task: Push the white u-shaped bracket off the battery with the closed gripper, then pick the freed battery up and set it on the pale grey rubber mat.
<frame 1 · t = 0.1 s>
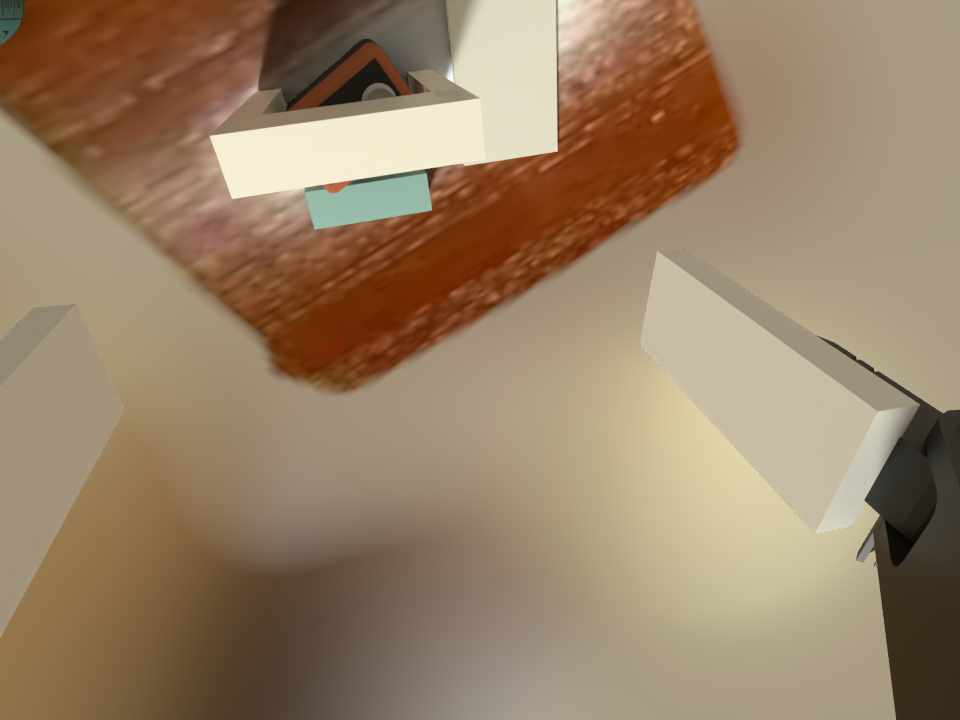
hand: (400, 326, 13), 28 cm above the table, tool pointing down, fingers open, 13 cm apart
battery: (349, 100, 35), on the table
mat: (504, 80, 36), on the table
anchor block: (368, 189, 38), on the table
white u-shaped bracket: (352, 120, 28), point 8 cm above the table, slide at 0.0 cm
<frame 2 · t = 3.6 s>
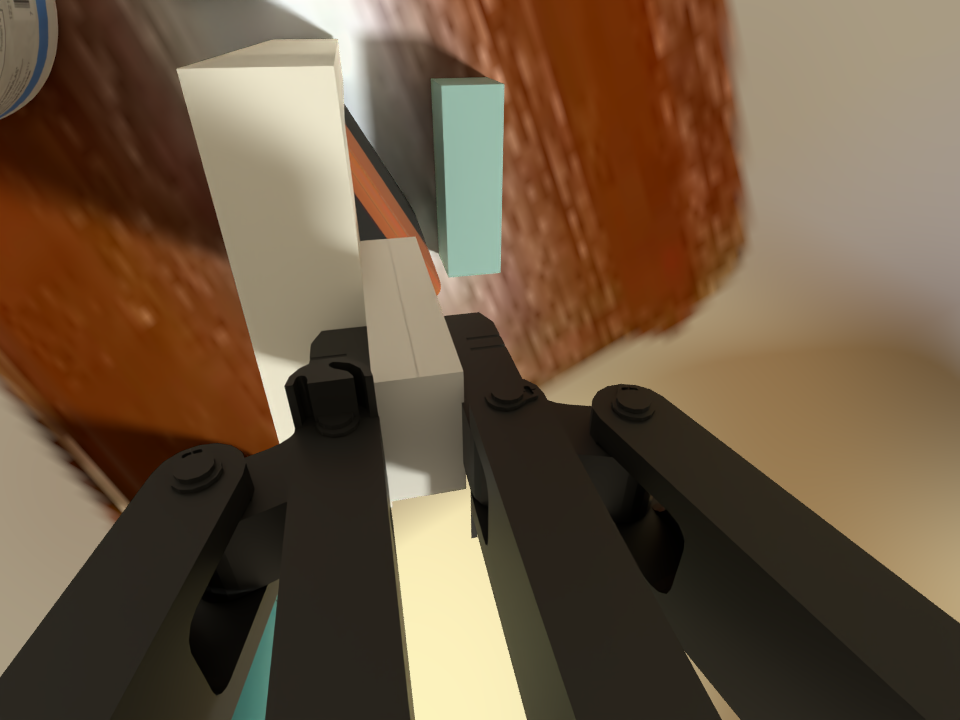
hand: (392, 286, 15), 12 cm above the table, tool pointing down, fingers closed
battery: (337, 178, 24), on the table
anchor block: (461, 172, 25), on the table
white u-shaped bracket: (323, 235, 18), point 8 cm above the table, slide at 0.5 cm, touching gripper
beverage bottle: (248, 484, 33), on the table
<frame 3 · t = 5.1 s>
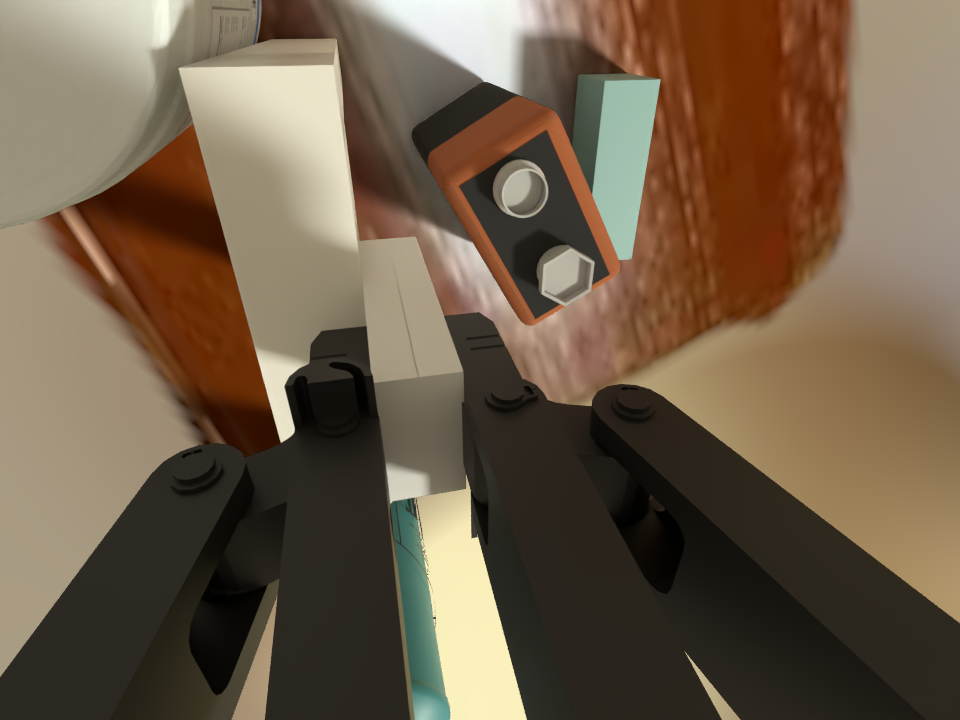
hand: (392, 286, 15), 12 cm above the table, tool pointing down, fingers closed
battery: (481, 169, 26), on the table
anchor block: (593, 163, 27), on the table
white u-shaped bracket: (322, 234, 18), point 8 cm above the table, slide at 7.3 cm, touching gripper
beverage bottle: (360, 465, 34), on the table
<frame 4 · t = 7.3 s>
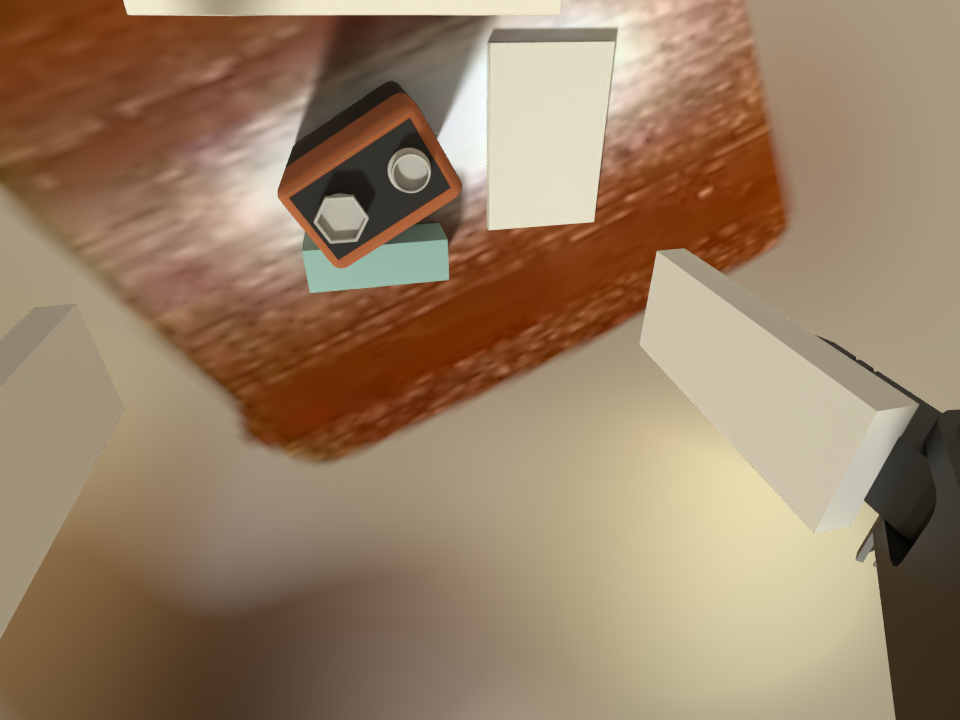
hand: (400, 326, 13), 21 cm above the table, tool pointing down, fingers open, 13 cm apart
battery: (364, 147, 30), on the table
mat: (544, 140, 31), on the table
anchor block: (375, 247, 33), on the table
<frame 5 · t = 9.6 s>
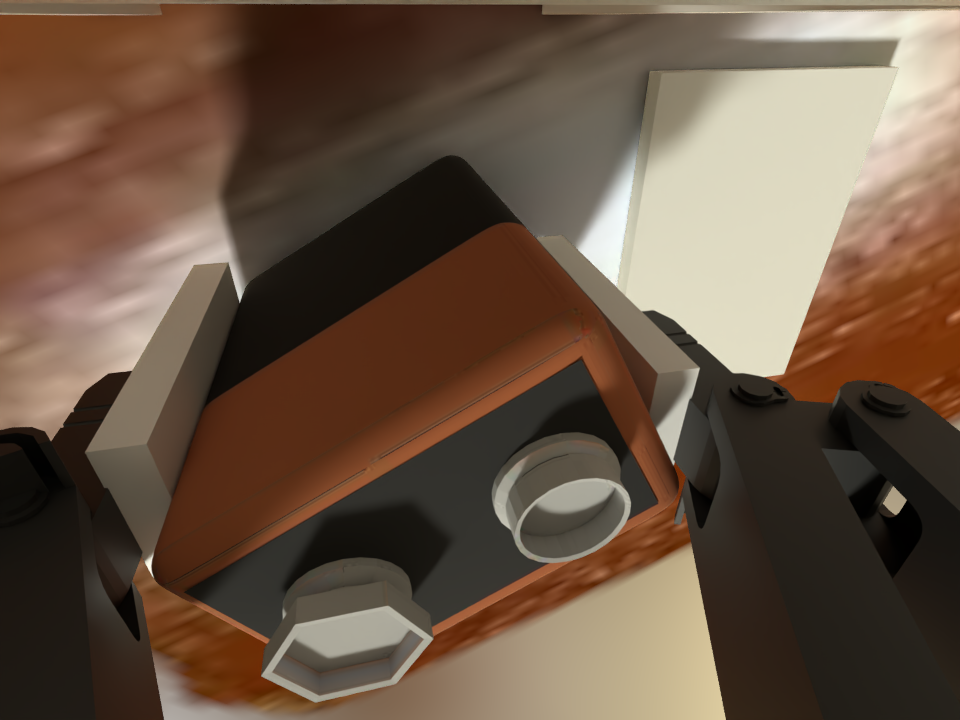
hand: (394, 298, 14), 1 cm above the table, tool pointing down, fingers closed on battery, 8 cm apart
battery: (390, 276, 15), on the table, touching gripper
mat: (723, 247, 17), on the table
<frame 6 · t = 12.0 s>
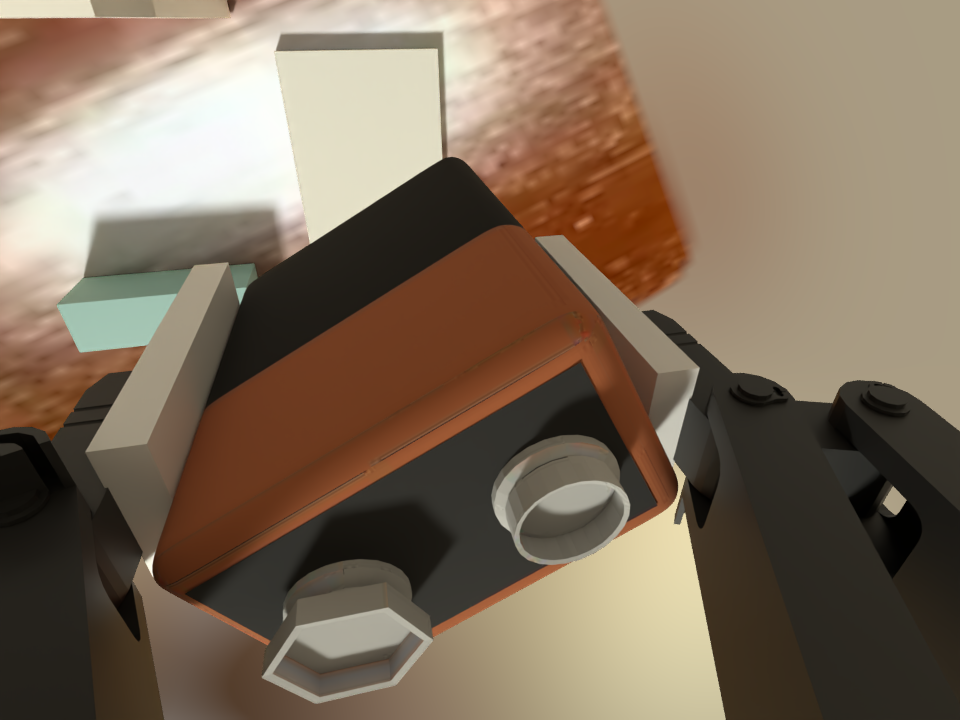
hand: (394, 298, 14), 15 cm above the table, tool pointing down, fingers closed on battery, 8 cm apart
battery: (390, 277, 15), point 14 cm above the table, touching gripper
mat: (370, 166, 26), on the table
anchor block: (178, 292, 27), on the table
when the fingers open (3 cm above the table, at t = 14.5 s): battery drops 1 cm, resting on mat.
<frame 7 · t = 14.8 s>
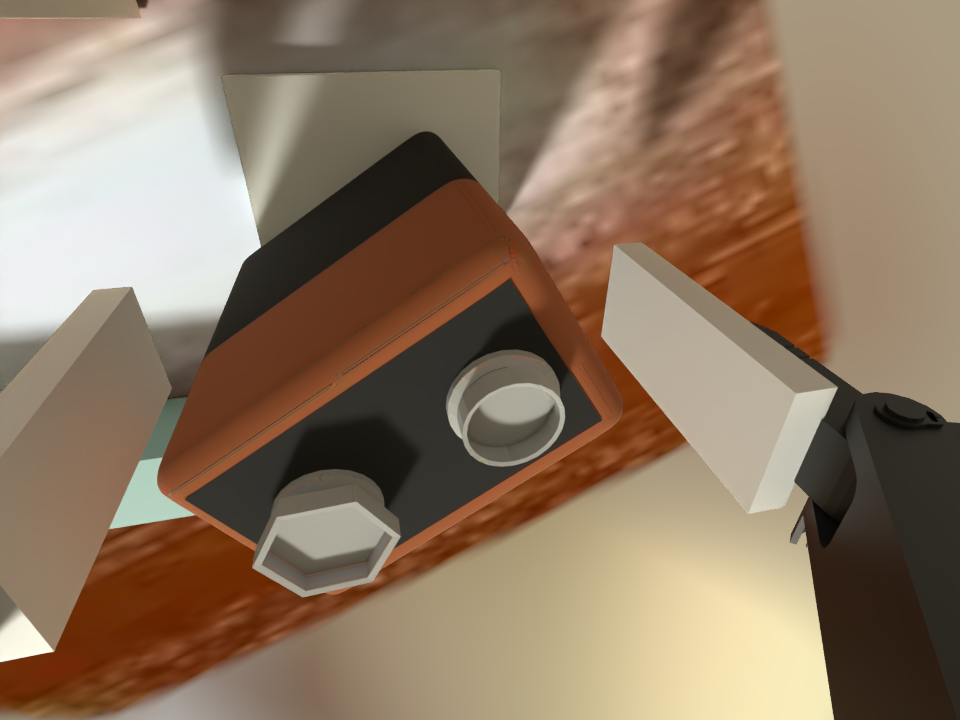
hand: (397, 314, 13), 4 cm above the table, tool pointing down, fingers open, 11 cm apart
battery: (377, 250, 16), resting on mat
mat: (385, 252, 17), on the table
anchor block: (88, 440, 18), on the table
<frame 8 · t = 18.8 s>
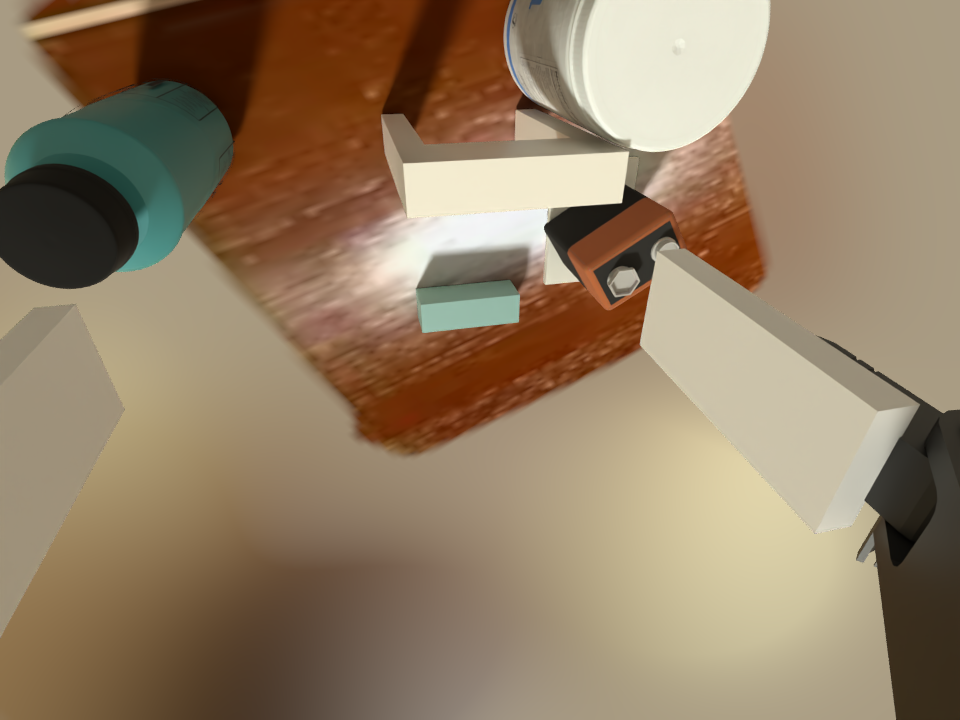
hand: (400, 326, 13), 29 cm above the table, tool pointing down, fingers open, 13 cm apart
battery: (586, 221, 43), resting on mat
mat: (587, 222, 44), on the table
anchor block: (464, 297, 45), on the table
supplement tub: (565, 35, 36), on the table
white u-shaped bracket: (484, 152, 32), point 8 cm above the table, slide at 7.5 cm
beverage bottle: (187, 132, 34), on the table
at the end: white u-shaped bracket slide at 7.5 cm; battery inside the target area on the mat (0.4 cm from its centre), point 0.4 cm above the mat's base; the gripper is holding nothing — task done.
